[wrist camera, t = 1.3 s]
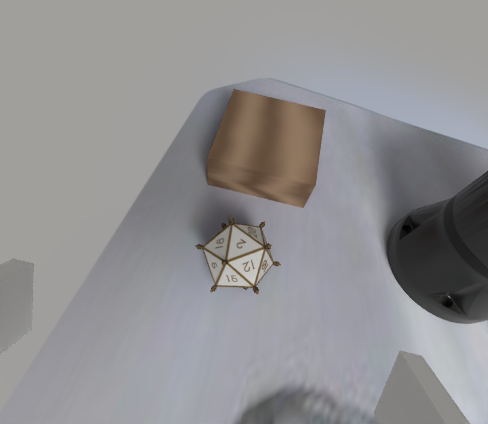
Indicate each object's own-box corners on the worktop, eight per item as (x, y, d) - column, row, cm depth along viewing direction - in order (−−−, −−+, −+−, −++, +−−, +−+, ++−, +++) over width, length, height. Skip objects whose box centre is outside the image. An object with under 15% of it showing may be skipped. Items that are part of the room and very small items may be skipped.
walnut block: (313, 139, 49) (325, 110, 43) (302, 209, 42) (315, 184, 36) (232, 119, 49) (234, 89, 44) (207, 185, 42) (206, 158, 37)
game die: (224, 266, 40) (207, 199, 36) (286, 267, 38) (277, 196, 33) (199, 316, 32) (175, 239, 28) (275, 321, 30) (261, 238, 26)
